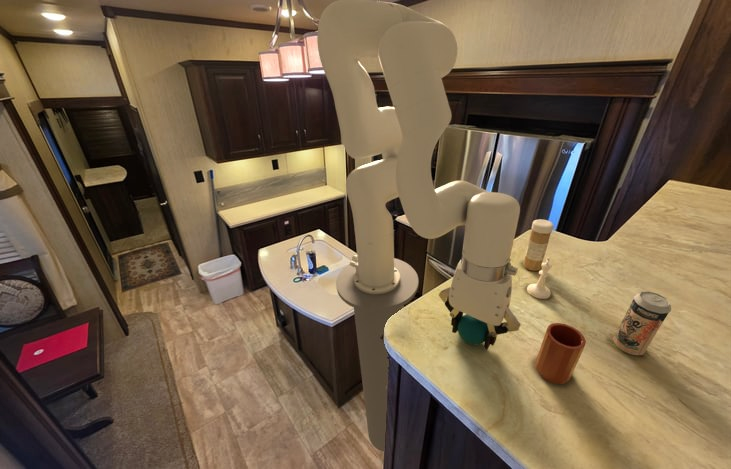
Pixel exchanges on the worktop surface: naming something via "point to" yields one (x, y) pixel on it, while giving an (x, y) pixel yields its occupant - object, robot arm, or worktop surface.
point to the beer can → (641, 322)
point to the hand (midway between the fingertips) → (472, 335)
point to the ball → (472, 330)
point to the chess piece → (541, 283)
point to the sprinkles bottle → (537, 244)
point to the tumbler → (559, 353)
